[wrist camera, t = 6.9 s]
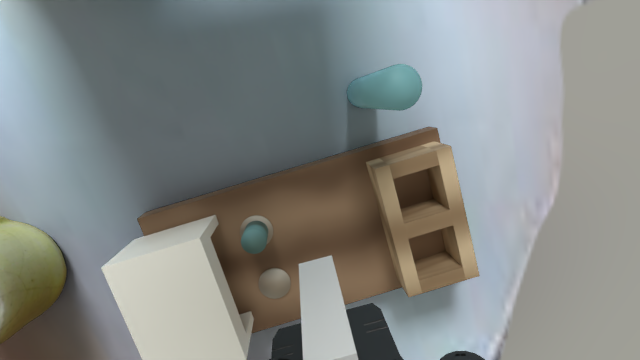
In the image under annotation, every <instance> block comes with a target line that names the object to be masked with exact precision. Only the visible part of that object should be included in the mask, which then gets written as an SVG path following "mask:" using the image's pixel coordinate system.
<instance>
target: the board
mask: <svg viewBox="0 0 640 360" xmlns="http://www.w3.org/2000/svg"><path fill="white" fill-rule="evenodd" d="M213 215H216V217H217V220H218V223H219V224H218V226H217V227H216V229H215V231H214V232H213V234H212V236H211V237H210V238H211V241H212V244H213V246H214V249H215V252H216V254H217V257H218V260H219V262H220V265H221V267H222V270H223V273H224V275H225V278H226V281H227V283H228V286H229V289H230V291H231V294H232V297H233V299H234V302H235V305H236V307H237V310H238V313H239V315H240V314H243V313H246V312H250V311H251V313H252V315H253V318H254V321H253V327H252V332H251V333H254V332H258V331H261V330H264V329H267V328H271V327H274V326H277V325H280V324H284V323H287V322H290V321H294V320H297V319H300V318H301V305H300V284H299V264H300V263H304V262H308V261H312V260H315V259H319V258H323V257H327V256H330V255H332V258H333V262H334V266H335V270H336V273H337V277H338V281H339V285H340V289H341V292H342V296H343V300H344V304H345V305H346V304H349V303H352V302H356V301H359V300H362V299H365V298H369V297H372V296H375V295H378V294H382V293H385V292H388V291H391V290H395V289H398V288H401V287H403V289H404V290H405V292H406V294H407V295H408V297H412V296H415V295H418V294H422V293H425V292H428V291H431V290H435V289H438V288H441V287H444V286H448V285H451V284H454V283H457V282H461V281H464V280H467V279H470V278H474V277H477V276H479V272H478V267H477V263H476V258H475V253H474V249H473V244H472V240H471V235H470V231H469V226H468V222H467V217H466V213H465V208H464V203H463V199H462V194H461V190H460V185H459V181H458V176H457V172H456V167H455V163H454V158H453V154H452V149H451V146H449V145H445V144H442V143H440V139H439V134H438V130H437V128H433V127H426V128H423V129H420V130H416V131H413V132H410V133H406V134H403V135H400V136H396V137H393V138H390V139H386V140H383V141H380V142H376V143H373V144H370V145H367V146H363V147H360V148H357V149H353V150H350V151H347V152H343V153H340V154H337V155H333V156H330V157H327V158H324V159H320V160H317V161H314V162H310V163H307V164H304V165H300V166H297V167H294V168H290V169H287V170H284V171H280V172H277V173H274V174H271V175H267V176H264V177H261V178H257V179H254V180H251V181H247V182H244V183H241V184H237V185H234V186H231V187H227V188H224V189H221V190H218V191H214V192H211V193H208V194H204V195H201V196H198V197H194V198H191V199H188V200H184V201H181V202H178V203H174V204H171V205H168V206H165V207H161V208H158V209H155V210H151V211H148V212H146V213H144V214H143V215H142V216H140V217H139V218H138V219H137V220H138V222H139V225H140V227H141V229H142V232H143V234H144V236H147V235H150V234H153V233H157V232H160V231H163V230H167V229H170V228H173V227H176V226H180V225H183V224H186V223H190V222H193V221H196V220H200V219H203V218H206V217H210V216H213Z"/></svg>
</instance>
